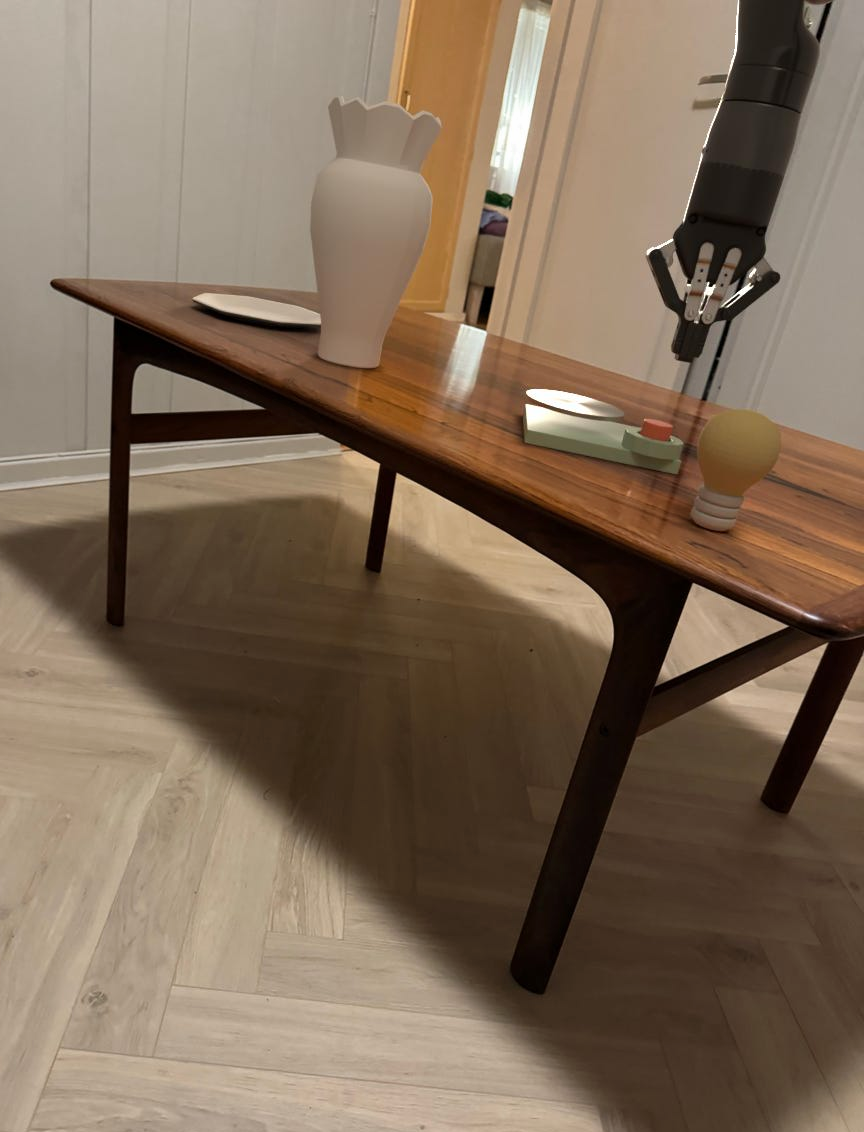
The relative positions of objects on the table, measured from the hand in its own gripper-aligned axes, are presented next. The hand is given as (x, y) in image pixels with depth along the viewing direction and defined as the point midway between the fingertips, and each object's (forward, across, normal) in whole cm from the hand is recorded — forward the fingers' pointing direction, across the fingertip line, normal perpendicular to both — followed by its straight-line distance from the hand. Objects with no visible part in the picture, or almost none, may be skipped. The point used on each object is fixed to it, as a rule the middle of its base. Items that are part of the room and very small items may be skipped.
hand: (683, 360), depth 89 cm
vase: (+10, -36, +24) cm, 45 cm away
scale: (+11, -6, +6) cm, 13 cm away
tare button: (+8, 0, +1) cm, 8 cm away
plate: (+10, -54, +45) cm, 71 cm away
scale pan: (+8, -8, +8) cm, 14 cm away
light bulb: (+11, +3, -18) cm, 22 cm away
